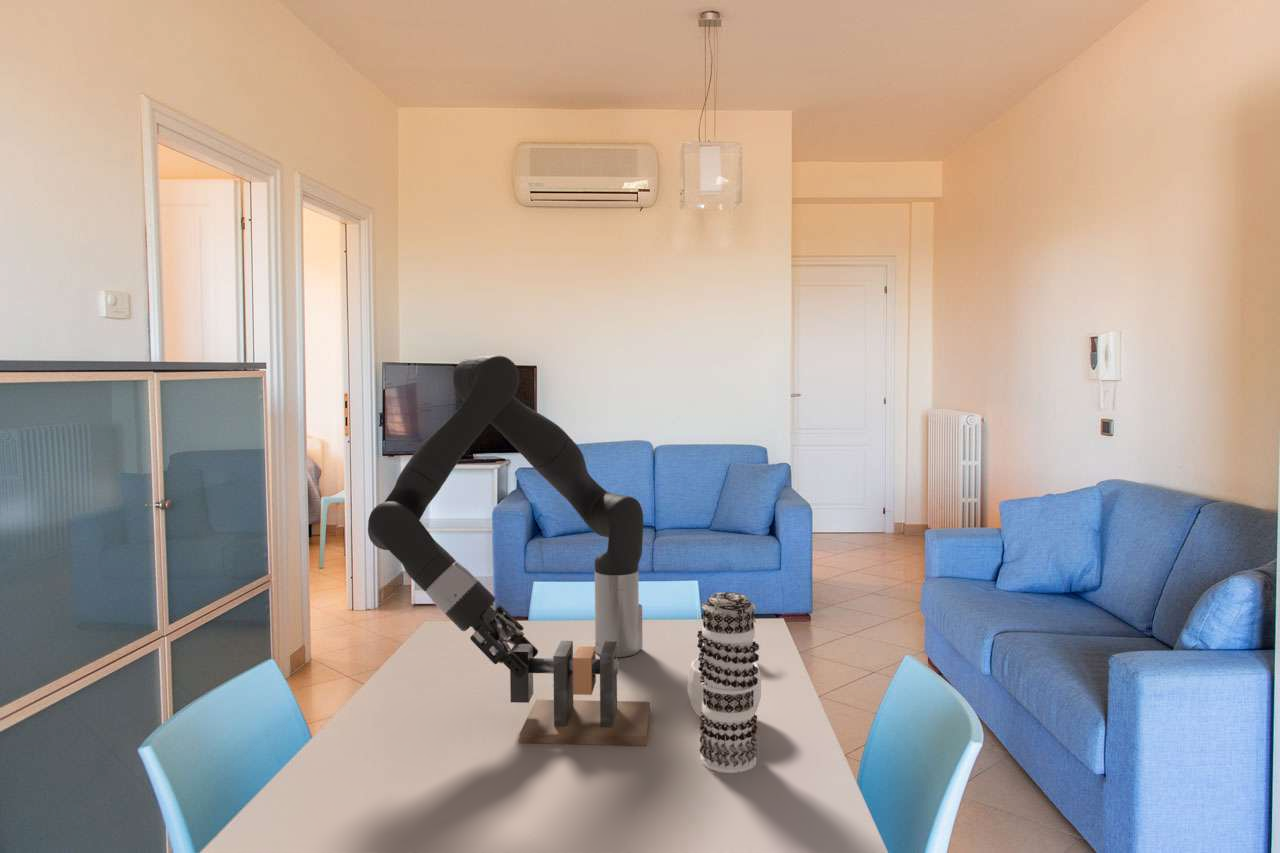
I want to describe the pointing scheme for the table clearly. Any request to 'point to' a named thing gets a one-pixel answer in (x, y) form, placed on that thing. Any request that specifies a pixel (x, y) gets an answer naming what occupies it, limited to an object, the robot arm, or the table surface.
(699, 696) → the cup
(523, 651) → the shaft
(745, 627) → the decorative candle
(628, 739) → the rig
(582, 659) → the spacer
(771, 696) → the table surface
